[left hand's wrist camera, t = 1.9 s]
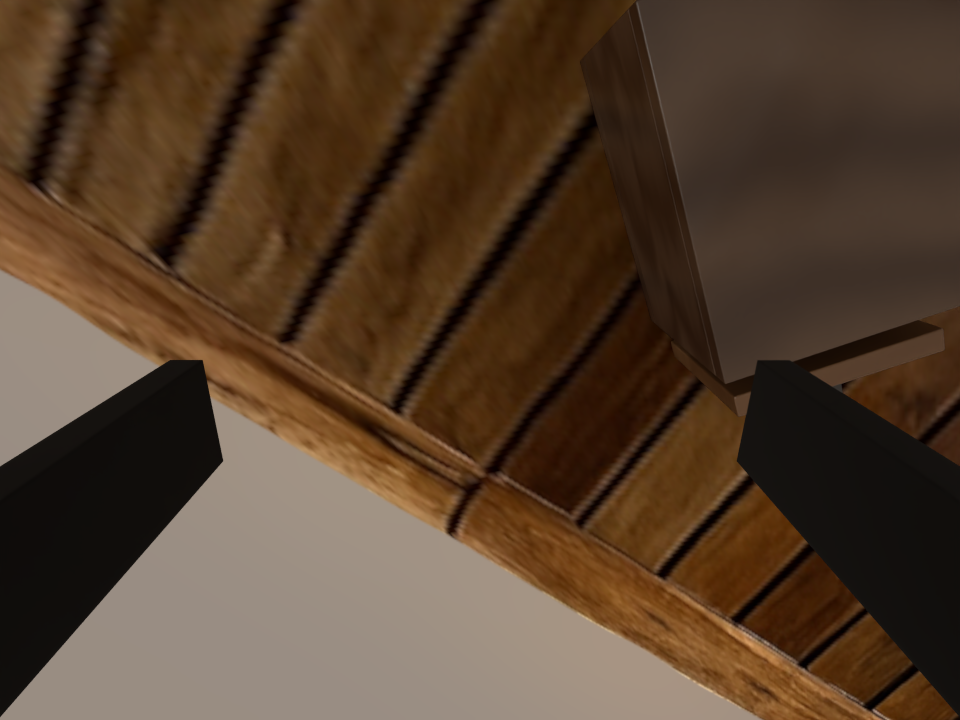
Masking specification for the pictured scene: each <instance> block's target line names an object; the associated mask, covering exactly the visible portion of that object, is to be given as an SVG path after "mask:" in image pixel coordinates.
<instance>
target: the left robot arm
mask: <svg viewBox="0 0 960 720" xmlns="http://www.w3.org/2000/svg"><path fill="white" fill-rule="evenodd" d="M222 462H223V458H222V453H221V448H220V443H219V438H218V433H217V428H216V423H215V418H214V414H213V409H212V404H211V399H210V394H209V389H208V384H207V379H206V374H205V369H204V365H203V360H170V361H168V362H166V363H165V364H163V365H162V366H160V367H158V368H157V369H155V370H154V371H152V372H150V373H149V374H147V375H146V376H144V377H143V378H141V379H139V380H138V381H136V382H134V383H133V384H131V385H130V386H128V387H126V388H125V389H123V390H122V391H120V392H119V393H117V394H115V395H114V396H112V397H110V398H109V399H107V400H106V401H104V402H102V403H101V404H99V405H98V406H96V407H95V408H93V409H91V410H90V411H88V412H87V413H85V414H83V415H82V416H80V417H78V418H77V419H75V420H74V421H72V422H71V423H69V424H67V425H66V426H64V427H63V428H61V429H59V430H58V431H56V432H55V433H53V434H51V435H50V436H48V437H47V438H45V439H43V440H42V441H40V442H39V443H37V444H35V445H34V446H32V447H31V448H29V449H27V450H26V451H24V452H23V453H21V454H19V455H18V456H16V457H15V458H13V459H11V460H10V461H8V462H7V463H5V464H3V465H2V466H0V717H1V715H2V714H3V713H4V712H5V711H6V710H7V709H8V707H9V706H10V705H11V704H12V703H13V702H14V701H15V699H16V698H17V697H18V696H19V695H20V694H21V692H22V691H23V690H24V689H25V688H26V687H27V686H28V684H29V683H30V682H31V681H32V680H33V679H34V678H35V676H36V675H37V674H38V673H39V672H40V671H41V670H42V668H43V667H44V666H45V665H46V664H47V663H48V662H49V660H50V659H51V658H52V657H53V656H54V655H55V653H56V652H57V651H58V650H59V649H60V648H61V647H62V645H63V644H64V643H65V642H66V641H67V640H68V639H69V637H70V636H71V635H72V634H73V633H74V632H75V630H76V629H77V628H78V627H79V626H80V625H81V624H82V622H83V621H84V620H85V619H86V618H87V617H88V616H89V614H90V613H91V612H92V611H93V610H94V609H95V608H96V606H97V605H98V604H99V603H100V602H101V601H102V600H103V598H104V597H105V596H106V595H107V594H108V593H109V592H110V590H111V589H112V588H113V587H114V586H115V585H116V583H117V582H118V581H119V580H120V579H121V578H122V577H123V575H124V574H125V573H126V572H127V571H128V570H129V569H130V567H131V566H132V565H133V564H134V563H135V562H136V560H137V559H138V558H139V557H140V556H141V555H142V554H143V553H144V551H145V550H146V549H147V548H148V547H149V546H150V544H151V543H152V542H153V541H154V540H155V539H156V538H157V536H158V535H159V534H160V533H161V532H162V531H163V529H164V528H165V527H166V526H167V525H168V524H169V523H170V522H171V520H172V519H173V518H174V517H175V516H176V515H177V513H178V512H179V511H180V510H181V509H182V508H183V507H184V505H185V504H186V503H187V502H188V501H189V500H190V499H191V497H192V496H193V495H194V494H195V493H196V492H197V490H198V489H199V488H200V487H201V486H202V485H203V484H204V482H205V481H206V480H207V479H208V478H209V477H210V476H211V474H212V473H213V472H214V471H215V470H216V469H217V468H218V466H219V465H220V464H221V463H222ZM737 462H738V463H739V464H740V465H741V466H742V468H743V469H744V470H745V471H746V472H747V473H748V474H749V476H750V477H751V478H752V479H753V480H754V481H755V483H756V484H757V485H758V486H759V487H760V488H761V489H762V491H763V492H764V493H765V494H766V495H767V496H768V497H769V499H770V500H771V501H772V502H773V503H774V504H775V505H776V507H777V508H778V509H779V510H780V511H781V512H782V513H783V515H784V516H785V517H786V518H787V519H788V520H789V522H790V523H791V524H792V525H793V526H794V527H795V528H796V530H797V531H798V532H799V533H800V534H801V535H802V536H803V538H804V539H805V540H806V541H807V542H808V543H809V544H810V546H811V547H812V548H813V549H814V550H815V551H816V553H817V554H818V555H819V556H820V557H821V558H822V559H823V561H824V562H825V563H826V564H827V565H828V566H829V567H830V569H831V570H832V571H833V572H834V573H835V574H836V575H837V577H838V578H839V579H840V580H841V581H842V582H843V583H844V585H845V586H846V587H847V588H848V589H849V590H850V592H851V593H852V594H853V595H854V596H855V597H856V598H857V600H858V601H859V602H860V603H861V604H862V605H863V606H864V608H865V609H866V610H867V611H868V612H869V613H870V614H871V616H872V617H873V618H874V619H875V620H876V621H877V623H878V624H879V625H880V626H881V627H882V628H883V629H884V631H885V632H886V633H887V634H888V635H889V636H890V637H891V639H892V640H893V641H894V642H895V643H896V644H897V645H898V647H899V648H900V649H901V650H902V651H903V652H904V654H905V655H906V656H907V657H908V658H909V659H910V660H911V662H912V663H913V664H914V665H915V666H916V667H917V668H918V670H919V671H920V672H921V673H922V674H923V675H924V676H925V678H926V679H927V680H928V681H929V682H930V683H931V684H932V686H933V687H934V688H935V689H936V690H937V691H938V693H939V694H940V695H941V696H942V697H943V698H944V699H945V701H946V702H947V703H948V704H949V705H950V706H951V707H952V709H953V710H954V711H955V712H956V713H957V714H958V715H959V717H960V466H958V465H957V464H955V463H953V462H952V461H950V460H949V459H947V458H945V457H944V456H942V455H941V454H939V453H937V452H936V451H934V450H933V449H931V448H929V447H928V446H926V445H925V444H923V443H921V442H920V441H918V440H917V439H915V438H913V437H912V436H910V435H909V434H907V433H905V432H904V431H902V430H901V429H899V428H897V427H896V426H894V425H893V424H891V423H889V422H888V421H886V420H885V419H883V418H882V417H880V416H878V415H877V414H875V413H874V412H872V411H870V410H869V409H867V408H866V407H864V406H862V405H861V404H859V403H858V402H856V401H854V400H853V399H851V398H850V397H848V396H846V395H845V394H843V393H842V392H840V391H838V390H837V389H835V388H834V387H832V386H830V385H829V384H827V383H826V382H824V381H822V380H821V379H819V378H818V377H816V376H814V375H813V374H811V373H810V372H808V371H806V370H805V369H803V368H802V367H800V366H798V365H797V364H795V363H794V362H792V361H790V360H757V365H756V369H755V374H754V379H753V384H752V389H751V394H750V399H749V404H748V409H747V414H746V418H745V423H744V428H743V433H742V438H741V443H740V448H739V453H738V458H737Z"/></svg>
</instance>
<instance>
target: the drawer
mask: <svg viewBox="0 0 960 720" xmlns="http://www.w3.org/2000/svg"><path fill="white" fill-rule="evenodd" d="M671 344H672V348H673V352H674V356H675V357H676V358H677V359H678V360H679V361H680V362H681V363H682V364H683V365H684V366H685V367H686V368H687V369H688V370H690V371H691V372H692V373H693V374H694V375H695V376H696V377H697V378H698V379H699V380H700V381H701V382H702V383H703V384H704V385H705V386H706V387H708V388H709V389H710V390H711V391H712V392H713V393H714V394H715V395H716V396H717V397H718V398H719V399H720V400H721V401H722V402H723V403H725V404H726V405H727V406H728V407H729V408H730V409H731V410H732V411H733V412H734V413H735V414H736V415H737V416H743V415H746V414H747V409H748V404H749V399H750V394H751V389H752V384H753V379H754V375H751V376H748V377H745V378H742V379H739V380H736V381H733V382H730V383H727V384H725V383H724V382H722V381H721V380H720V379H719V378H718V377H717V376H715V375H714V374H713V373H712V372H711V371H710V370H708V369H707V368H706V367H705V366H704V365H703V364H701V363H700V362H699V361H698V360H697V359H696V358H694V357H693V356H692V355H691V354H690V353H689V352H688V351H686V350H685V349H684V348H683V347H682V346H681V345H679V344H678V343H677V342H676V341H675V340H673V341H671ZM944 350H945V345H944V331H943V329H942V328H940V327H937V326H934V325H931V324H928V323H925V322H922V321H919V320H916V321H913V322H910V323H907V324H904V325H901V326H898V327H895V328H892V329H889V330H886V331H883V332H880V333H877V334H874V335H871V336H868V337H865V338H862V339H859V340H856V341H853V342H850V343H847V344H844V345H841V346H838V347H835V348H832V349H829V350H826V351H823V352H820V353H817V354H814V355H811V356H808V357H805V358H802V359H799V360H796V361H793V362H794V363H795V364H797V365H798V366H800V367H802V368H803V369H805V370H806V371H808V372H810V373H811V374H813V375H814V376H816V377H818V378H819V379H821V380H822V381H824V382H826V383H827V384H829V385H830V386H832V387H834V388H835V389H837V390H838V391H840V392H842V386H841V384H842V383H845V382H848V381H851V380H854V379H857V378H860V377H864V376H867V375H870V374H873V373H876V372H879V371H882V370H885V369H888V368H891V367H894V366H898V365H901V364H904V363H907V362H910V361H913V360H916V359H919V358H922V357H925V356H928V355H932V354H935V353H938V352H941V351H944Z"/></svg>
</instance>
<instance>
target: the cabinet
mask: <svg viewBox="0 0 960 720" xmlns="http://www.w3.org/2000/svg"><path fill="white" fill-rule="evenodd" d="M580 63H581V67H582V71H583V74H584V78H585V81H586V85H587V89H588V92H589V96H590V100H591V103H592V107H593V110H594V114H595V118H596V121H597V125H598V129H599V132H600V136H601V140H602V143H603V147H604V150H605V154H606V158H607V161H608V165H609V169H610V172H611V176H612V179H613V183H614V187H615V190H616V194H617V198H618V201H619V205H620V209H621V212H622V216H623V219H624V223H625V227H626V230H627V234H628V238H629V241H630V245H631V249H632V252H633V256H634V259H635V263H636V267H637V270H638V274H639V278H640V281H641V285H642V288H643V292H644V296H645V299H646V303H647V307H648V310H649V314H650V318H651V320H652V321H653V322H654V323H655V324H656V325H657V326H659V327H660V328H661V329H662V330H663V331H664V332H665V333H667V334H668V335H669V336H670V337H671V338H672V339H674V340H675V341H676V342H677V343H678V344H679V345H681V346H682V347H683V348H684V349H685V350H686V351H688V352H689V353H690V354H691V355H692V356H693V357H694V358H696V359H697V360H698V361H699V362H700V363H701V364H703V365H704V366H705V367H706V368H707V369H708V370H710V371H711V372H712V373H713V374H714V375H715V376H717V377H718V378H719V379H720V380H721V381H722V382H724V383H725V384H727V383H730V382H733V381H736V380H739V379H742V378H745V377H748V376H751V375H754V374H755V369H756V365H757V360H790V361H792V362H793V361H796V360H799V359H802V358H805V357H808V356H811V355H814V354H817V353H820V352H823V351H826V350H829V349H832V348H835V347H838V346H841V345H844V344H847V343H850V342H853V341H856V340H859V339H862V338H865V337H868V336H871V335H874V334H877V333H880V332H883V331H886V330H889V329H892V328H895V327H898V326H901V325H904V324H907V323H910V322H913V321H916V320H919V319H922V318H925V317H928V316H931V315H934V314H937V313H940V312H943V311H946V310H950V309H953V308H956V307H959V306H960V0H636V1H635V3H634V4H633V5H632V6H631V7H630V8H629V9H628V10H627V11H626V12H625V13H624V14H623V15H622V16H621V17H620V19H619V20H618V21H617V22H616V23H615V24H614V25H613V26H612V27H611V28H610V29H609V30H608V32H607V33H606V34H605V35H604V36H603V37H602V38H601V39H600V40H599V41H598V42H597V43H596V45H595V46H594V47H593V48H592V49H591V50H590V51H589V52H588V53H587V54H586V55H585V56H584V58H583V59H582V60H581V61H580Z"/></svg>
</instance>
